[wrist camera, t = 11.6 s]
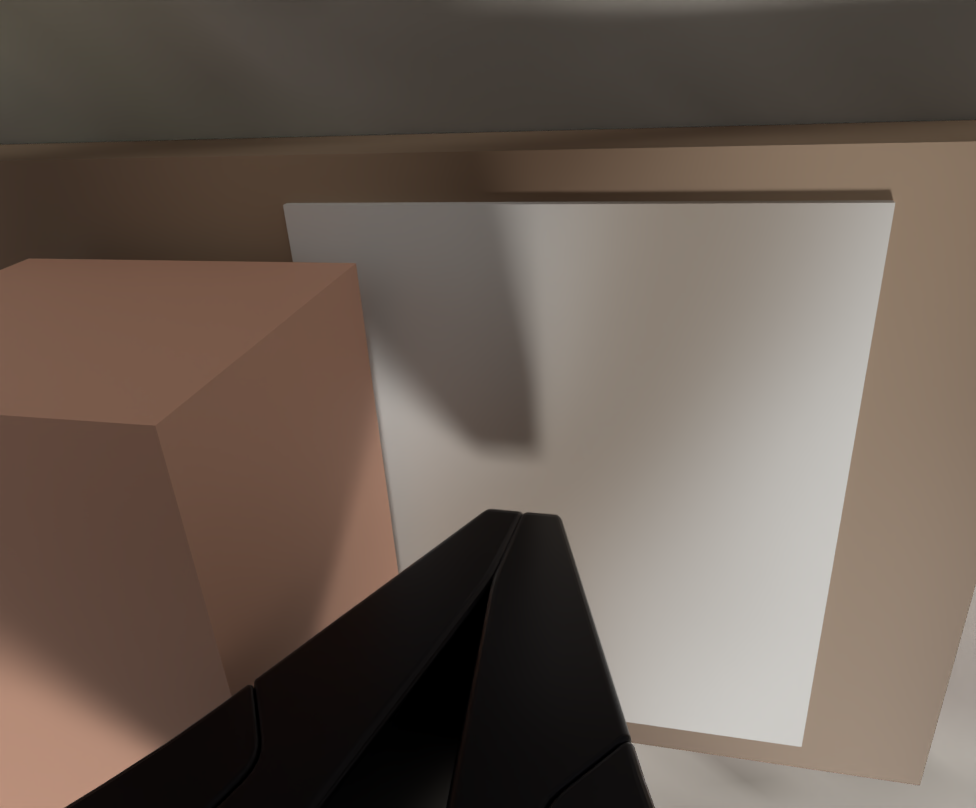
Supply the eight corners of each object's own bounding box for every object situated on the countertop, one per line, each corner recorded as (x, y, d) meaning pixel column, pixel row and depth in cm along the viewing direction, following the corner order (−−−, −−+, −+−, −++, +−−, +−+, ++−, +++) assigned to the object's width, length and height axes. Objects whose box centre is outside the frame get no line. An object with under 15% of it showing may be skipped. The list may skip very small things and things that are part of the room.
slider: (356, 263, 8) (154, 425, 5) (414, 689, 11) (304, 958, 8) (28, 258, 9) (-304, 393, 6) (157, 652, 12) (-29, 881, 9)
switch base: (1045, 118, 8) (1156, 163, 6) (899, 712, 11) (940, 859, 9) (-515, 157, 13) (-727, 187, 11) (-270, 559, 16) (-398, 634, 14)
